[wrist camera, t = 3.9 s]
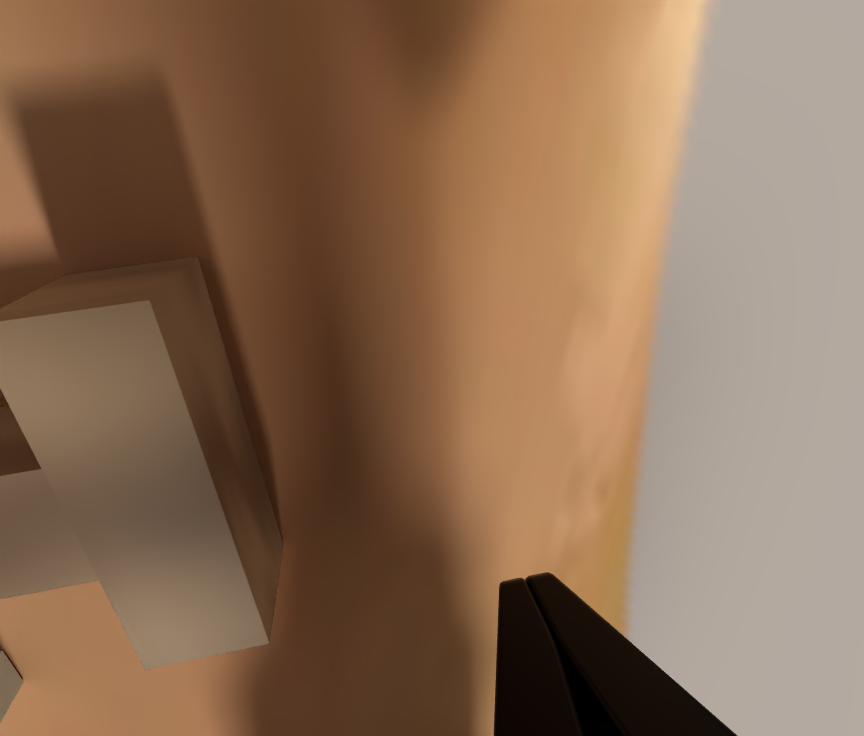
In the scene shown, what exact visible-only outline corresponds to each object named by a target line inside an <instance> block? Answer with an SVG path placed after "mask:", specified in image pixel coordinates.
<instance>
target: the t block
mask: <svg viewBox="0 0 864 736" xmlns="http://www.w3.org/2000/svg"><path fill="white" fill-rule="evenodd" d="M0 389H1V391H2V393H3V395H4V397H5V399H6V401H7V402H8V404H9V405H8V406H1V407H0V599H4V598H9V597H15V596H20V595H25V594H30V593H36V592H41V591H46V590H51V589H57V588H62V587H67V586H72V585H78V584H83V583H88V582H93V581H100V583H101V585H102V587H103V589H104V591H105V593H106V595H107V597H108V599H109V601H110V603H111V604H112V606H113V608H114V610H115V612H116V614H117V616H118V618H119V620H120V622H121V624H122V626H123V628H124V630H125V632H126V634H127V636H128V638H129V639H130V641H131V643H132V645H133V647H134V649H135V651H136V653H137V655H138V657H139V659H140V661H141V663H142V665H143V667H144V669H145V670H146V669H150V668H155V667H160V666H165V665H170V664H174V663H179V662H184V661H189V660H194V659H198V658H203V657H208V656H213V655H218V654H223V653H227V652H232V651H237V650H242V649H247V648H251V647H256V646H261V645H266V644H269V643H270V636H271V629H272V622H273V614H274V607H275V600H276V593H277V585H278V578H279V571H280V564H281V556H282V549H283V542H282V539H281V535H280V532H279V528H278V525H277V522H276V518H275V515H274V512H273V508H272V505H271V502H270V498H269V495H268V491H267V488H266V485H265V481H264V478H263V475H262V471H261V468H260V465H259V461H258V458H257V454H256V451H255V448H254V444H253V441H252V438H251V434H250V431H249V428H248V424H247V421H246V418H245V414H244V411H243V407H242V404H241V401H240V397H239V394H238V391H237V387H236V384H235V381H234V377H233V374H232V370H231V367H230V364H229V360H228V357H227V354H226V350H225V347H224V344H223V340H222V337H221V333H220V330H219V327H218V323H217V320H216V317H215V313H214V310H213V307H212V303H211V300H210V297H209V293H208V290H207V286H206V283H205V280H204V276H203V273H202V270H201V266H200V263H199V260H198V257H190V258H183V259H175V260H168V261H161V262H153V263H146V264H139V265H131V266H124V267H117V268H109V269H102V270H95V271H87V272H80V273H72V274H65V275H63V276H61V277H59V278H57V279H55V280H53V281H51V282H49V283H48V284H46V285H44V286H42V287H40V288H38V289H36V290H34V291H33V292H31V293H29V294H27V295H25V296H23V297H21V298H19V299H18V300H16V301H14V302H12V303H10V304H8V305H6V306H5V307H3V308H1V309H0Z"/></svg>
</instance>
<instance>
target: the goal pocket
mask: <svg viewBox="0 0 864 736" xmlns="http://www.w3.org/2000/svg"><path fill="white" fill-rule="evenodd" d="M22 684H23V680H22V679H21V677H20V676H19V674H18V673H17V671H16V670H15V668H14V667H13V665H12V664H11V662H10V661H9V659H8V658H7V656H6V655H5V654H4V652H3V651H0V722H1V721H2V719H3V717H4V715H5V714H6V712H7V710H8V708H9V707H10V705H11V703H12V701H13V700H14V698H15V696H16V694H17V693H18V691H19V689H20V687H21V686H22Z"/></svg>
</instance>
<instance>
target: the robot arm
mask: <svg viewBox="0 0 864 736" xmlns="http://www.w3.org/2000/svg"><path fill="white" fill-rule="evenodd" d="M494 736H737V735H736V734H735V733H734V732H733V731H731V730H730V729H729V728H728V727H727V726H726V725H725V724H723V723H722V722H721V721H720V720H719V719H717V718H716V717H715V716H714V715H713V714H712V713H711V712H710V711H709V710H707V709H706V708H705V707H704V706H703V705H702V704H701V703H699V702H698V701H697V700H696V699H695V698H694V697H693V696H691V695H690V694H689V693H688V692H687V691H686V690H685V689H683V688H682V687H681V686H680V685H679V684H678V683H676V682H675V681H674V680H673V679H672V678H671V677H670V676H669V675H667V674H666V673H665V672H664V671H663V670H662V669H661V668H659V667H658V666H657V665H656V664H655V663H654V662H653V661H651V660H650V659H649V658H648V657H647V656H645V654H643V653H642V652H641V651H640V650H639V649H638V648H636V647H635V646H634V645H633V644H632V643H631V642H630V641H629V640H627V639H626V638H625V637H624V636H623V635H622V634H621V633H619V632H618V631H617V630H616V629H615V628H614V627H613V626H611V625H610V624H609V623H608V622H607V621H606V620H605V619H603V618H602V617H601V616H600V615H599V614H598V613H597V612H595V611H594V610H593V609H592V608H591V607H590V606H589V605H587V604H586V603H585V602H584V601H583V600H582V599H581V598H579V597H578V596H577V595H576V594H575V593H574V592H573V591H571V590H570V589H569V588H568V587H567V586H566V585H565V584H563V583H562V582H561V581H560V580H559V579H558V578H557V577H555V576H554V575H553V574H551V573H548V572H546V573H541V574H536V575H531V576H528V577H527V578H526V580H525V579H523V578H516V579H512V580H507V581H503V582H501V583H500V586H499V607H498V634H497V661H496V688H495V714H494Z"/></svg>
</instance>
